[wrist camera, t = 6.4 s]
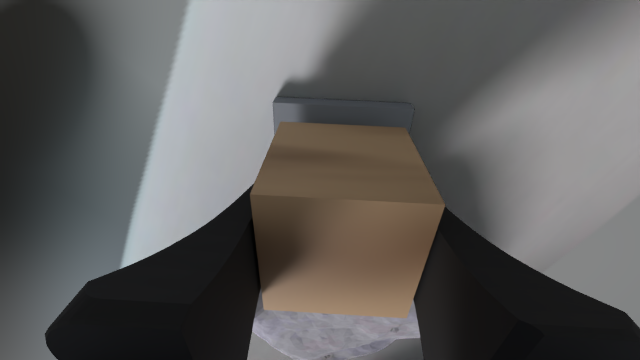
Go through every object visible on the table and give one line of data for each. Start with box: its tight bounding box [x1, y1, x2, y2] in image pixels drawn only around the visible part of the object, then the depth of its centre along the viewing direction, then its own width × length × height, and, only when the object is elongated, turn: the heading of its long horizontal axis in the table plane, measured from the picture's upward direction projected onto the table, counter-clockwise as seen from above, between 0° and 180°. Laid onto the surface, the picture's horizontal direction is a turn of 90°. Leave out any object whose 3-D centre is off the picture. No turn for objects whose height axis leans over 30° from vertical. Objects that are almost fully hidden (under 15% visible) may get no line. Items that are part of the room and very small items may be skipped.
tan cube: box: [250, 122, 445, 318], centre depth 11 cm, size 5×5×5 cm
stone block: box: [252, 290, 420, 360], centre depth 18 cm, size 12×5×10 cm
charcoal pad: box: [273, 97, 415, 134], centre depth 14 cm, size 6×6×1 cm
